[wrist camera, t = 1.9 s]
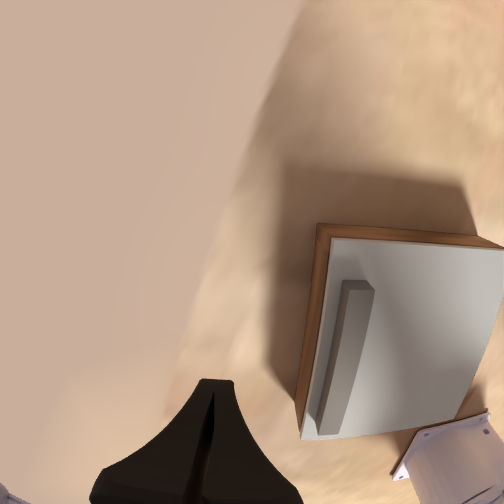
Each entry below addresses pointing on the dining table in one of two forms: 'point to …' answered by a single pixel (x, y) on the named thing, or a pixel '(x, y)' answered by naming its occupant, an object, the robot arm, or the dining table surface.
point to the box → (320, 278)
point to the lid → (399, 335)
